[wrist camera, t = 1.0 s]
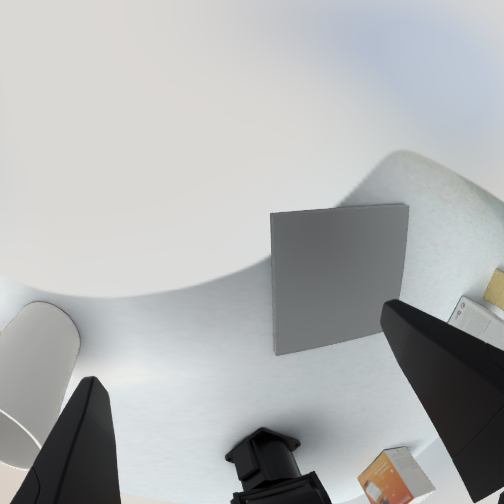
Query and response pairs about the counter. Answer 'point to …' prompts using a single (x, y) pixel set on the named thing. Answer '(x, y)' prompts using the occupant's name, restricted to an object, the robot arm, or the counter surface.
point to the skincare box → (478, 322)
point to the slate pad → (334, 273)
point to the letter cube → (496, 290)
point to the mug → (33, 379)
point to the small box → (395, 479)
